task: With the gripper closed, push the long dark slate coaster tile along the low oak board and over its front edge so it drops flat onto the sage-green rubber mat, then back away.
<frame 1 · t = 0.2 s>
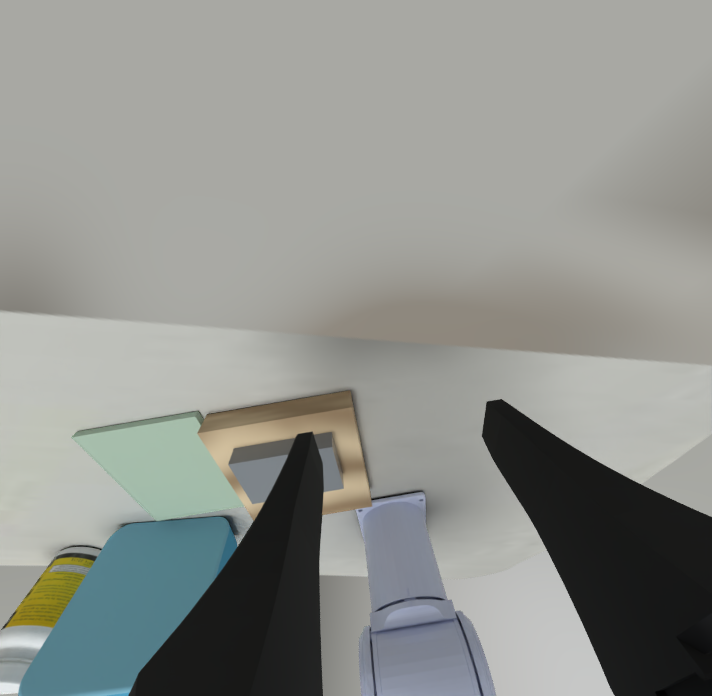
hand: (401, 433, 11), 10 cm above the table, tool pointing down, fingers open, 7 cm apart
slate tile: (291, 461, 23), point 2 cm above the table, touching oak board
supplement bottle: (87, 554, 32), on the table
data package: (183, 527, 31), on the table
oak board: (299, 456, 26), on the table
green mat: (176, 470, 25), on the table
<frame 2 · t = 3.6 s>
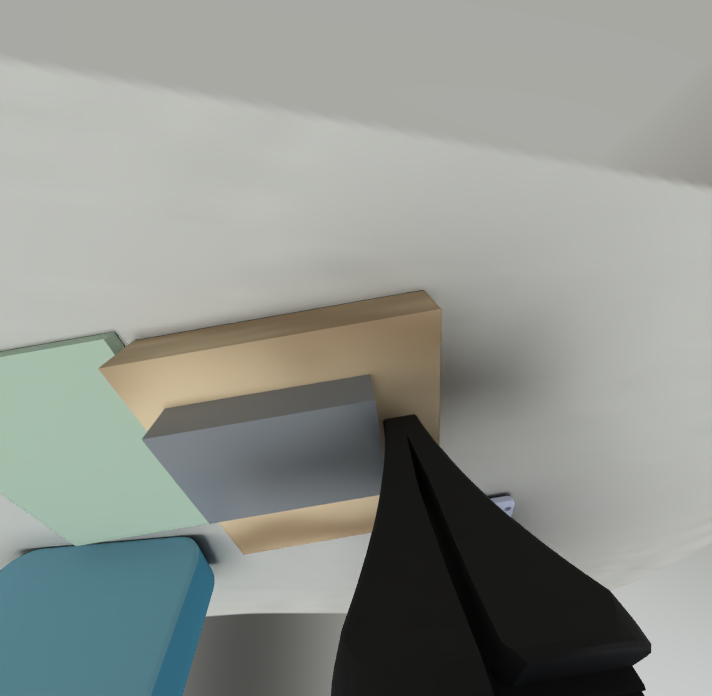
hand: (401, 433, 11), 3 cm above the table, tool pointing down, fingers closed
slate tile: (286, 439, 12), point 2 cm above the table
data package: (128, 553, 19), on the table
oak board: (316, 433, 15), on the table
green mat: (94, 457, 14), on the table
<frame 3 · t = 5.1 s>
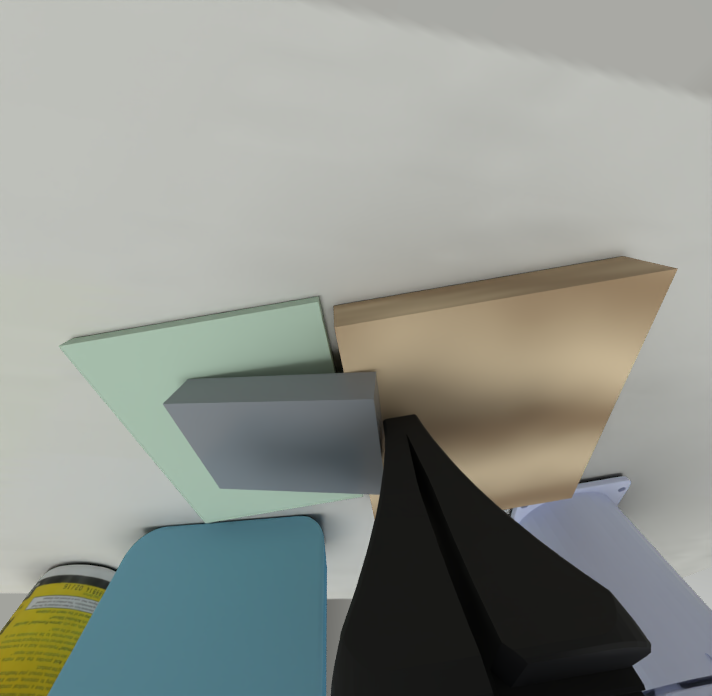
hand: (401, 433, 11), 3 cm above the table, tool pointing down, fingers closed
slate tile: (293, 424, 12), point 1 cm above the table, tilted 12°
supplement bottle: (90, 575, 20), on the table
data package: (241, 533, 19), on the table
oak board: (467, 407, 15), on the table
green mat: (251, 430, 14), on the table
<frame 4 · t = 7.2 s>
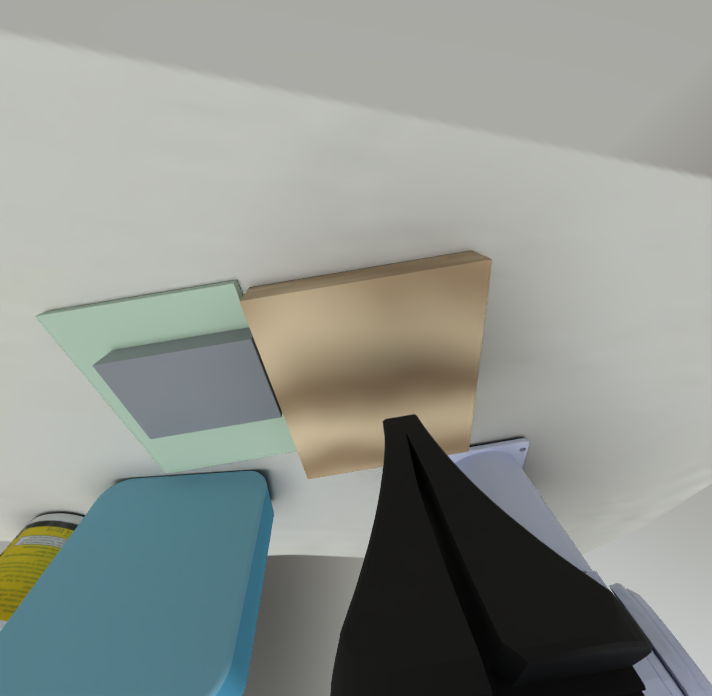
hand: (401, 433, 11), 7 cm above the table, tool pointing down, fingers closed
slate tile: (206, 377, 16), point 1 cm above the table, touching green mat
supplement bottle: (71, 525, 24), on the table
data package: (200, 487, 23), on the table
oak board: (374, 373, 18), on the table
green mat: (196, 391, 17), on the table
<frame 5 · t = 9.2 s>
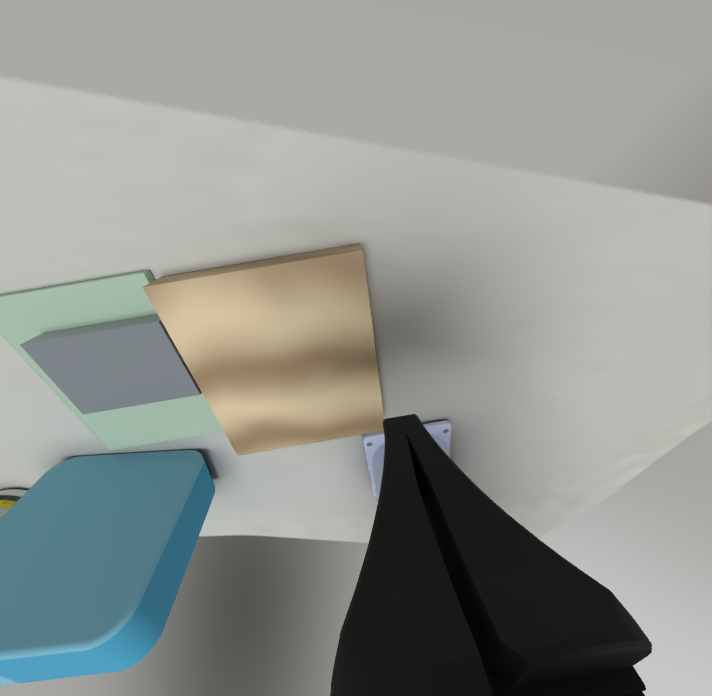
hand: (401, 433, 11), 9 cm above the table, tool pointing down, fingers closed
slate tile: (132, 358, 18), point 1 cm above the table, touching green mat
supplement bottle: (30, 502, 26), on the table
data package: (147, 466, 25), on the table
oak board: (291, 357, 20), on the table
green mat: (128, 372, 19), on the table
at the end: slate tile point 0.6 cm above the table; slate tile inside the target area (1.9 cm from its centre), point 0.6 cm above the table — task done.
